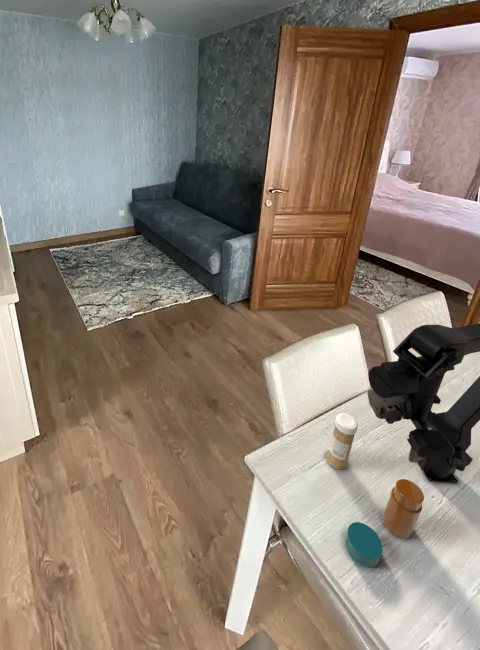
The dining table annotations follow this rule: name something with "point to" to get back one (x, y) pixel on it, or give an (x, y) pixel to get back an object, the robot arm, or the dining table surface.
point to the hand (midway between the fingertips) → (400, 441)
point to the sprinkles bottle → (342, 440)
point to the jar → (403, 508)
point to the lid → (363, 544)
